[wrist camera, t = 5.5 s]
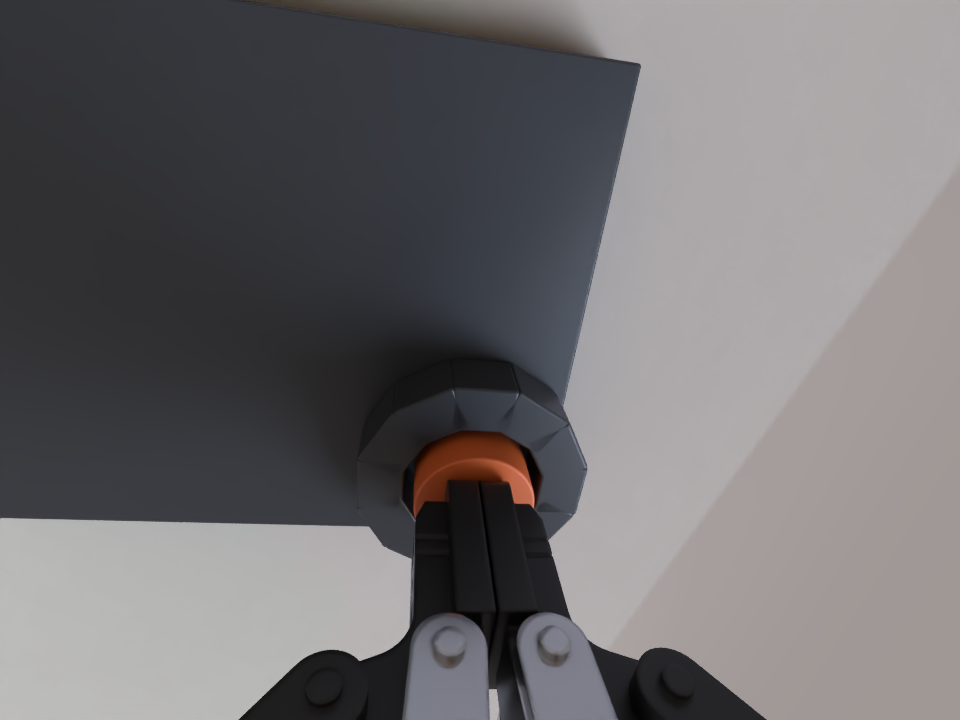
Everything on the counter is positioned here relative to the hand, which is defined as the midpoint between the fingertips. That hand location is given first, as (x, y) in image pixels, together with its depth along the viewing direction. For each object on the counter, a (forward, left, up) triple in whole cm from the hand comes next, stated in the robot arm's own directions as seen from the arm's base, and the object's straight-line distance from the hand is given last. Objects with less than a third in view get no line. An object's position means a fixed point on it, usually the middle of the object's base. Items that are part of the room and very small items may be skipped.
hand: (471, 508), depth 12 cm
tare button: (0, 0, -2) cm, 2 cm away
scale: (+5, -3, -4) cm, 8 cm away
